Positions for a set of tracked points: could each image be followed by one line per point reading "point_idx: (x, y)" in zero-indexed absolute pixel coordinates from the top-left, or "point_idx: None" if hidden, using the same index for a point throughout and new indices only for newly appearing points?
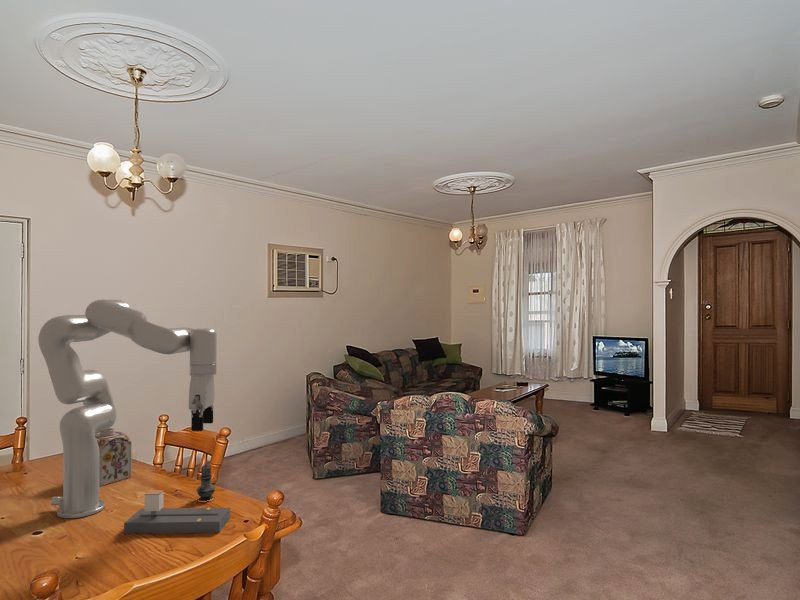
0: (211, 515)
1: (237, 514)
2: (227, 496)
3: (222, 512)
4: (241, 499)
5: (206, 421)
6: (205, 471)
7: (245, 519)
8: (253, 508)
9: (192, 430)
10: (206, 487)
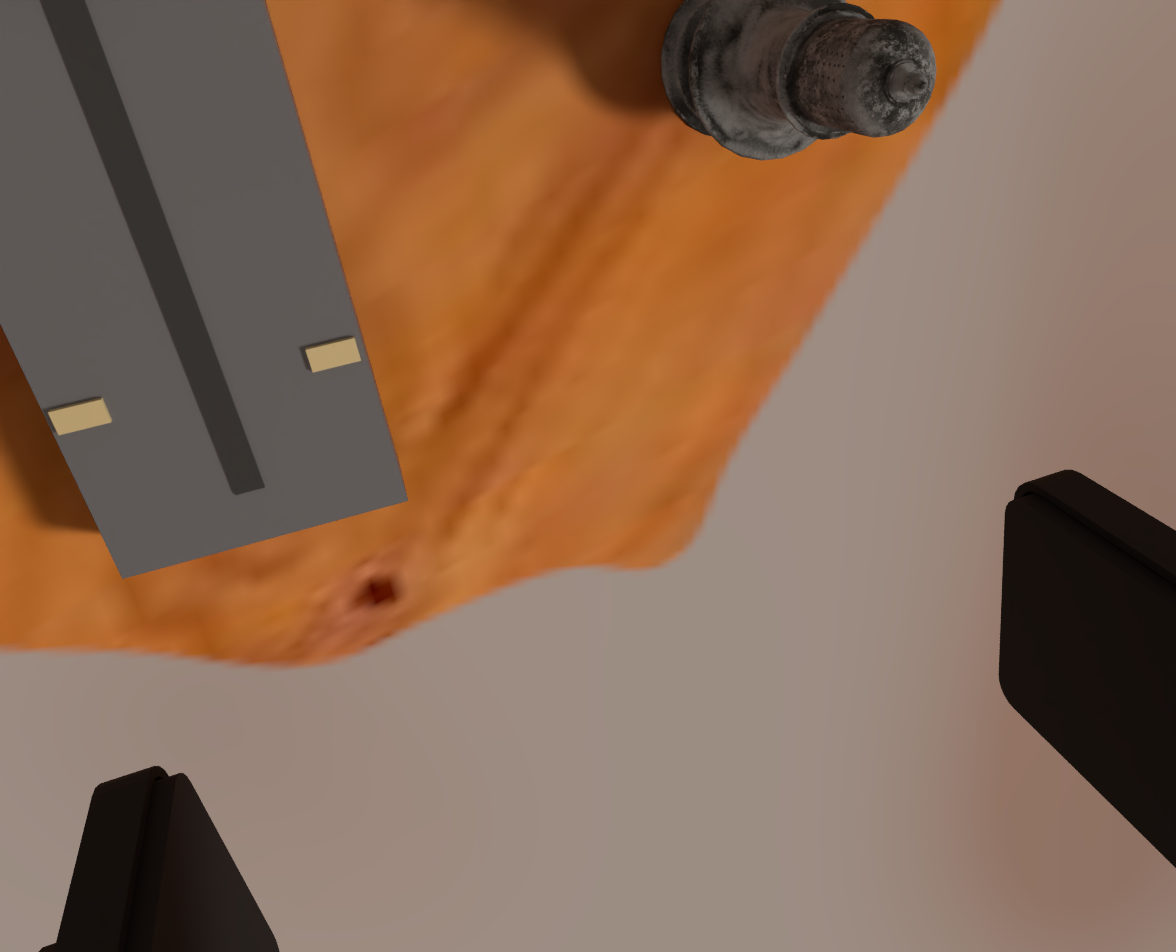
0: (215, 452)
1: (470, 481)
2: (804, 216)
3: (298, 500)
4: (747, 360)
5: (1031, 608)
6: (826, 98)
7: (399, 576)
8: (592, 527)
9: (112, 801)
10: (743, 98)
